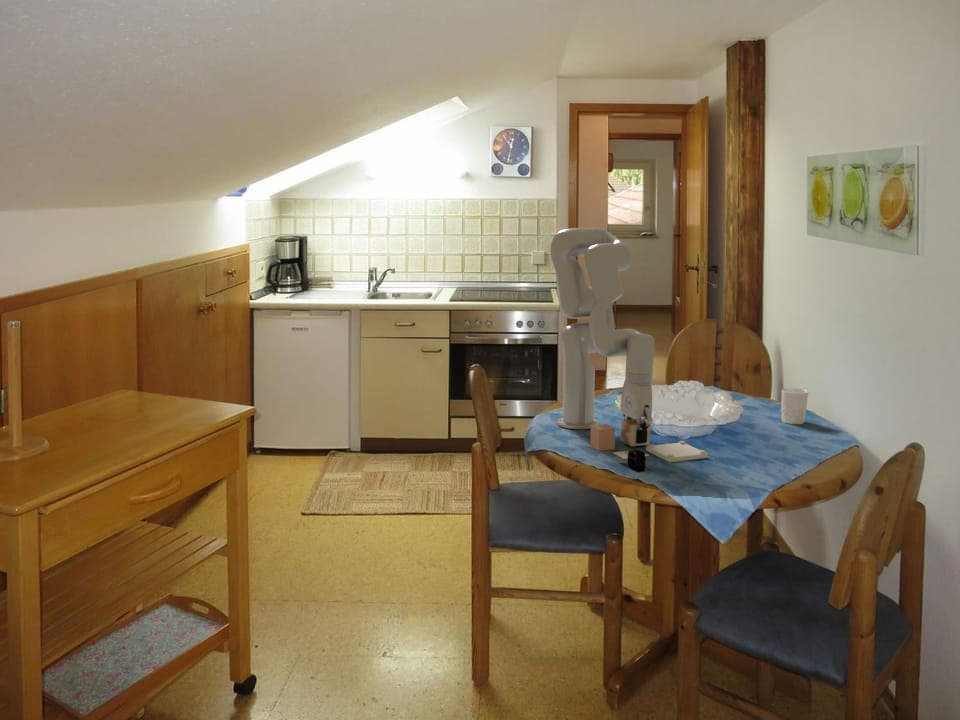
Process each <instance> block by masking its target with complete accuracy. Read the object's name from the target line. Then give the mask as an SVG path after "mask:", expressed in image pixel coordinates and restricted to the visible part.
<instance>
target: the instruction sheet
mask: <svg viewBox="0 0 960 720" xmlns="http://www.w3.org/2000/svg"><path fill="white" fill-rule="evenodd" d="M628 452H629V450H621V451H613V452H612V454H614V455H615V456H617V457H620V458H621V459H622V460H626V459H627V460H628ZM645 456H646V457H649V456H650V455H649V454H648V453H646V452H645Z"/></svg>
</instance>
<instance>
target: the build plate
mask: <svg viewBox="0 0 960 720" xmlns="http://www.w3.org/2000/svg"><path fill="white" fill-rule="evenodd" d="M645 447H646V448H645V450H646V452H648V453H651V454H652V455H654V456H656V457H658V458H660V459H662V460H664V461H666V462H667V463H668V462H669V463H673V462H674V463H675V462H684V461H690V460H692V461H693V460H698V459H699V460H700V459H707V458H708V453H707V452H706V450H703V449H702V450H701V449H699V448H696V447H694V446H693V445H692V446H691V445H690V444H688V443H686V441H684V440H680V441H679V442H675V443H674V442H673V443H665V444H656V445H655V444H649V445H645Z"/></svg>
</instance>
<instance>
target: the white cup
mask: <svg viewBox="0 0 960 720" xmlns="http://www.w3.org/2000/svg"><path fill="white" fill-rule="evenodd" d="M808 397H809V391H808V390H807V389H803V388H798V387H797V388H796V387H788V388H787V387H786V388H785V387H784V388H782V389H781V403H780V404H781V407H780V408H781V422H782V423H784V424H789V425H803V424H804V423H805V420H806V413H807V406H808Z"/></svg>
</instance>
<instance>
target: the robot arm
mask: <svg viewBox="0 0 960 720" xmlns="http://www.w3.org/2000/svg"><path fill="white" fill-rule="evenodd" d="M550 257H551V262H552V264H553V267H554V271H555V273H556V278H557V286H558V288H557V289H558V293H559V300H560V307H561V311H562V314H563V315H564V316H565V318H567V319H570V320H571V319H574V320H575V319H589V320H588V321H584V322H575V323H571V324H569V325H567V326H565V327H564V328H563V329H562V331H561V334H560V344H561V350H562V359H563V360H562V362H563V377H562V379H563V380H562V381H563V383H562V388H563V389H562V408H561V409H560V411H561V412H562V417H560V418H558V419H557V425H558V426H559V427H562V428H565V429H569V430H570V429H572V430H591V426H594V425H600V423H599V422H600V421H599V420H598V419H596V418H594V414H595V383H596V382H595V378H596V371H595V370H596V368H595V364H594V362H593V360H592V359H591V356H590V355H591V354H595V353H598V355H600V356H601V357H605V358H612V357H622V356H623V357H624V356H626V359H625V372H624V373H625V375H624V382H623V384H622V385H623V387H622V389H621V390H622V391H621V399H620V413H621V414H622V415H623V420H628V419H634V420H637V424H638V429H637V433H636V443H638V444H639V443H646V442H647V430H648V429H649V426H650V424H651V425H652V423H653V422H654V421H653V417H652V413H653V412H652V411H653V387H652V384H653V373H654V357H655V337H653V335H651V334H648V333H642V332H640V331H638V330H637V329H634V328H622V329H621V328H620V329H618V328H617V329H616V325H615V317H614V316H615V315H614V310H613V304H612V303H614V302H616V301H618V300H619V299H621V298H622V297H623V296H624V291H625V290H624V287H623V282H622V280H621V277H620V276H621V275H620V273H619V272H624V271H626V270H628V269H629V268H630V267H631V266H632V261H633V260H632V254H631V251H630V248H629V247H628V246H627V245H626V244H625V242H624V241H622V240H621V239H620V238H619V237H617V236H616V235H614V234H612V232H609V231H608V230H607V229H604V228H601V227H572V228H566V229H561V230H559V231H557V233H556V234H554V235H553V237H552V239H551V242H550ZM577 257H584V258H583V259H584V262H585V263H584V264H585V266H586V271H587V273H588V277H589V280H590V285H591V286H590V285H589V286H588V284H587V280H586V273H585V270H584V268H583V266H582V264H581V263H580V262H579V261H578V260H577V259H576V258H577ZM641 421H644V422H643V423H642V425H641Z"/></svg>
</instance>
